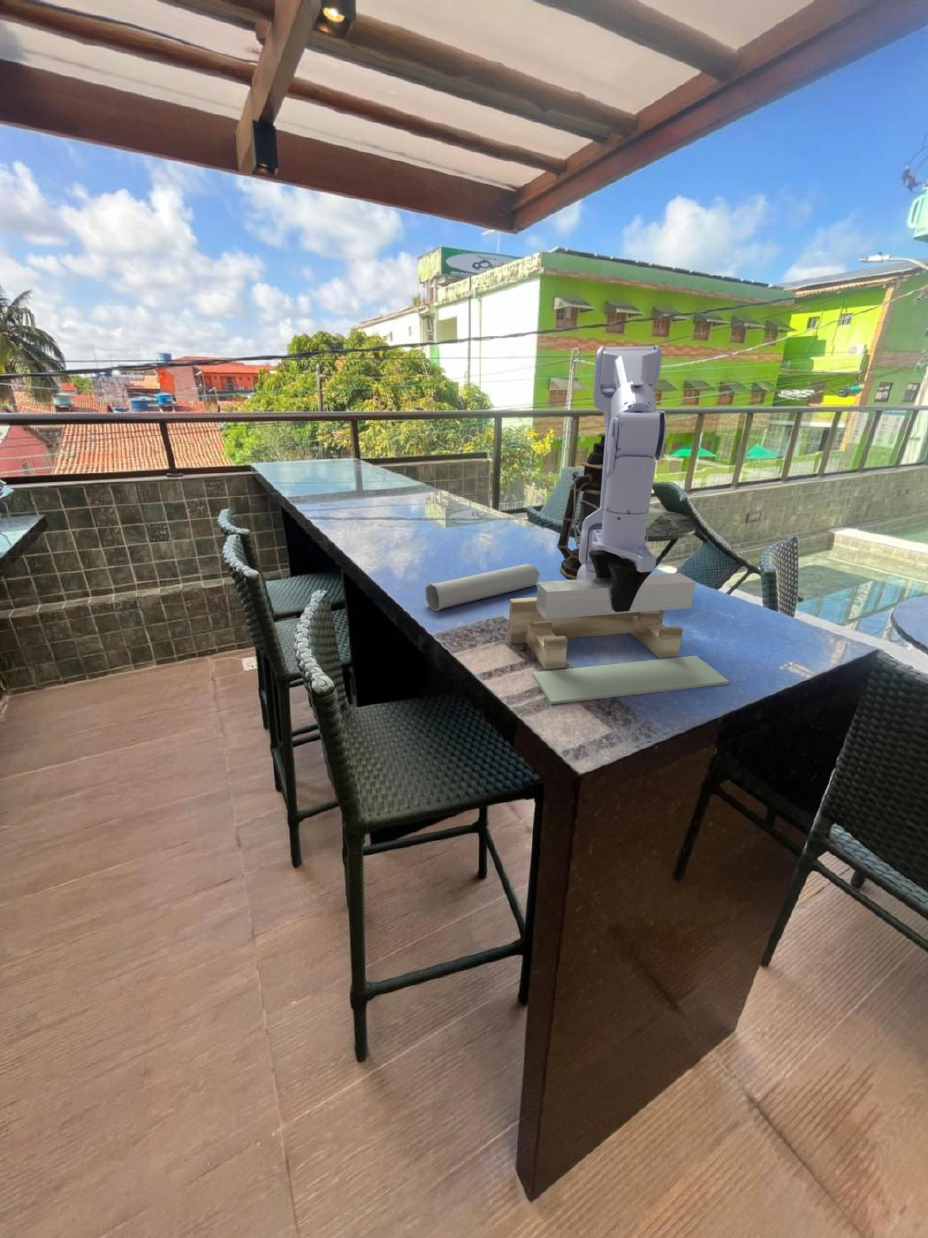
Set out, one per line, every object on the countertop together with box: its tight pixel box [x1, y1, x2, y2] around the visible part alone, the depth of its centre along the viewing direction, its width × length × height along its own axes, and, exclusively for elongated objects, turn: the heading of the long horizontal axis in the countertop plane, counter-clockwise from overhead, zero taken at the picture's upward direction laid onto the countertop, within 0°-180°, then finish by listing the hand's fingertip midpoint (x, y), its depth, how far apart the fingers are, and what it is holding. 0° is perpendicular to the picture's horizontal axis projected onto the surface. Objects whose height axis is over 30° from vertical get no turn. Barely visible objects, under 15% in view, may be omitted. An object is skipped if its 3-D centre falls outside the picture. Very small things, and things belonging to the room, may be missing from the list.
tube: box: [424, 563, 540, 612], centre depth 98 cm, size 5×5×25 cm
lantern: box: [556, 433, 649, 580], centre depth 106 cm, size 20×16×30 cm
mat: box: [531, 655, 730, 705], centre depth 70 cm, size 8×26×1 cm, turn 101°
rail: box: [536, 572, 697, 619], centre depth 72 cm, size 4×22×4 cm, turn 101°
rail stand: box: [508, 596, 684, 671], centre depth 78 cm, size 10×26×7 cm, turn 101°
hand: (613, 604), depth 73 cm, fingers closed on rail, 4 cm apart
